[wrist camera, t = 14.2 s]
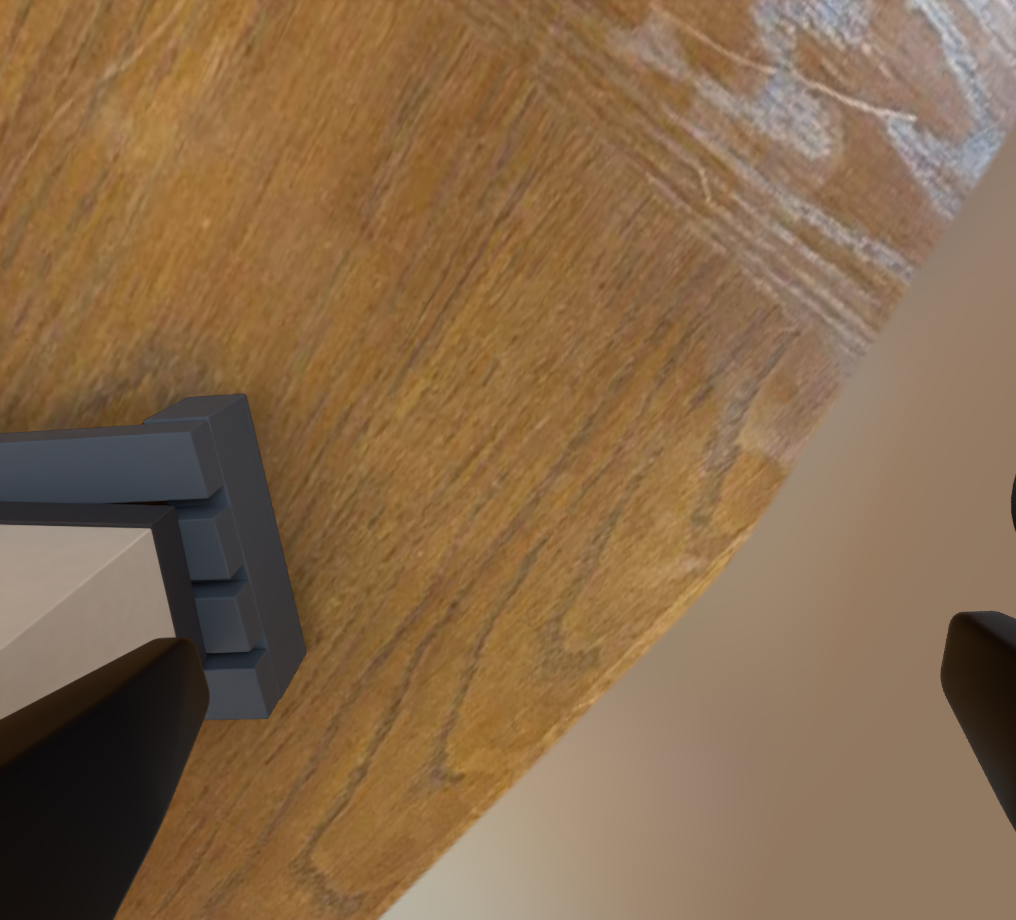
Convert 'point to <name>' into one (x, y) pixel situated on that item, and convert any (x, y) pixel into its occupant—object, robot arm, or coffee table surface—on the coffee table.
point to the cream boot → (86, 591)
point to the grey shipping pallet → (189, 529)
